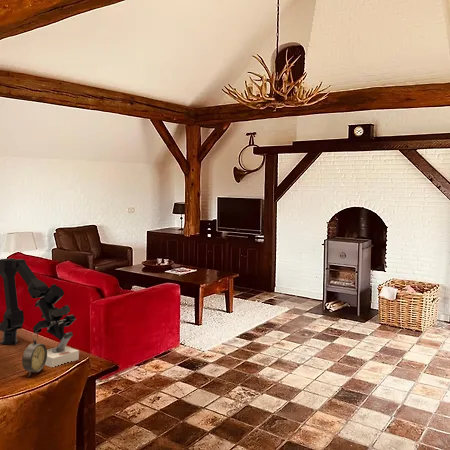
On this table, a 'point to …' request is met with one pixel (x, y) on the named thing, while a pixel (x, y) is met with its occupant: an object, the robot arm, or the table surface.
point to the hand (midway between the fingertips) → (63, 340)
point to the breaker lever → (64, 341)
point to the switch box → (61, 356)
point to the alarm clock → (34, 357)
